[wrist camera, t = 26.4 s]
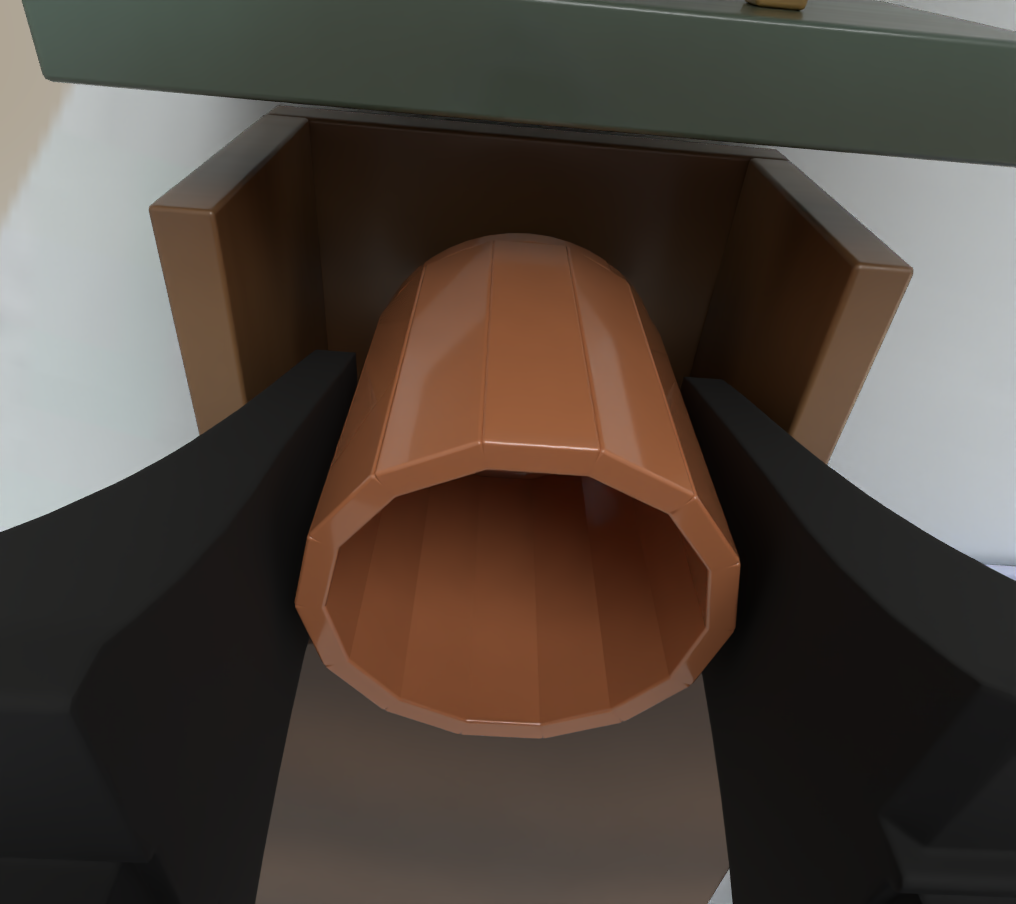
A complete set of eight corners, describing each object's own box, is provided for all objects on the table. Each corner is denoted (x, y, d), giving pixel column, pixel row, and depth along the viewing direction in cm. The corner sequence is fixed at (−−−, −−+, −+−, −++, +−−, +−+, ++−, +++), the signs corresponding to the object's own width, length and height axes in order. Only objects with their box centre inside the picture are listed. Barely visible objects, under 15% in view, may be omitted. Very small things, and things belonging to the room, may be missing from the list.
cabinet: (267, 375, 18) (129, 632, 11) (733, 408, 18) (852, 671, 12) (313, 690, 26) (247, 943, 20) (635, 707, 27) (674, 959, 20)
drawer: (155, -555, 9) (-324, -1191, 4) (1000, -447, 9) (1581, -882, 4) (295, 498, 19) (219, 703, 14) (688, 523, 20) (748, 730, 15)
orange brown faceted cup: (631, 485, 14) (685, 747, 10) (376, 469, 14) (312, 728, 9) (689, 245, 11) (807, 463, 7) (366, 218, 11) (266, 426, 6)
